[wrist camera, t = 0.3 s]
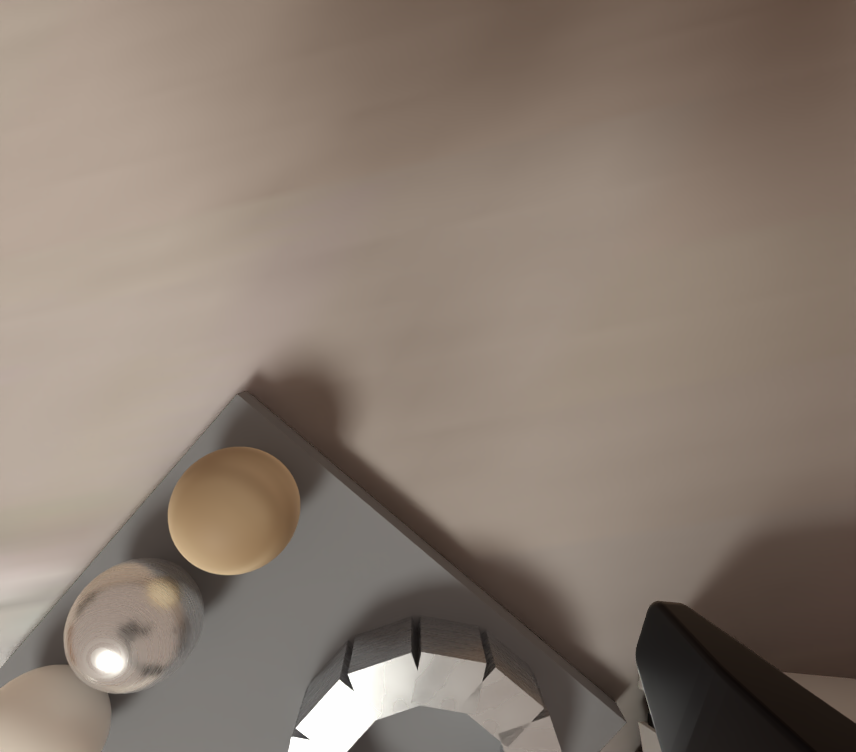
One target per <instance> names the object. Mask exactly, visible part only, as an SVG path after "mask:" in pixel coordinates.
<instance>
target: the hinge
mask: <svg viewBox="0 0 856 752" xmlns="http://www.w3.org/2000/svg"><path fill="white" fill-rule="evenodd" d="M783 673H784V674H786V675H787V676H789V677H790V678H791V679H793V680H794V681H796V682H797V683H799V684H800V685H801V686H803V687H804V688H806V689H807V690H809V691H810V692H812V693H813V694H814V695H816V696H817V697H819V698H820V699H822V700H823V701H825V702H826V703H827V704H829V705H830V706H832V707H833V708H835V709H836V710H837V711H839V712H840V713H842V714H843V715H845V716H846V717H848V718H849V719H850V720H852V721H853V722H855V723H856V679H852V678H841V677H831V676H820V675H809V674H798V673H788V672H783ZM638 688H640V689H642V690H643V691H644V689H643V686H642V682H641V679H640V677H639V682H638ZM638 725H639V731H640V737H641V743H642V749H643V752H661V748H660V745H659V741H658V738H657V734H656V731H655V727H654V724H653V720H652V717H651V713H648V722H639V721H638Z"/></svg>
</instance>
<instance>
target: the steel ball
mask: <svg viewBox="0 0 856 752" xmlns="http://www.w3.org/2000/svg"><path fill="white" fill-rule="evenodd" d="M203 620H204V603H203V598H202V594H201V591H200V589H199V587H198V585H197V583H196V582H195V580H194V579H193V577H192V576H191V575H190V574H189V573H188V572H187V571H186V570H184V569H183V568H182V567H180V566H178V565H177V564H175V563H173V562H170V561H167V560H163V559H157V558H139V559H132V560H128V561H125V562H122V563H120V564H117V565H115V566H112V567H111V568H109V569H107V570H106V571H104V572H102V573H101V574H99V575H98V576H97V577H96V578H94V579H93V580H92V581H91V582H90V583H89V584H88V585H87V586H86V587H85V588H84V589H83V591H82V592H81V593H80V594H79V596H78V597H77V598H76V600H75V602H74V604H73V605H72V607H71V609H70V611H69V614H68V617H67V620H66V624H65V628H64V636H63V639H64V651H65V656H66V659H67V661H68V663H69V665H70V667H71V669H72V670H73V672H74V673H75V675H76V676H77V677H78V678H79V679H80V680H81V681H82V682H84V683H85V684H87V685H88V686H90V687H92V688H94V689H96V690H99V691H102V692H106V693H112V694H127V693H134V692H138V691H141V690H144V689H147V688H150V687H152V686H154V685H156V684H158V683H160V682H161V681H163V680H165V679H166V678H168V677H169V676H170V675H172V674H173V673H174V672H175V671H176V670H177V669H178V668H179V667H180V666H181V665H182V664H183V663H184V662H185V661H186V659H187V658H188V657H189V656H190V654H191V652H192V651H193V649H194V647H195V645H196V644H197V642H198V639H199V637H200V634H201V631H202V627H203Z"/></svg>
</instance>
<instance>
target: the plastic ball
mask: <svg viewBox="0 0 856 752" xmlns="http://www.w3.org/2000/svg"><path fill="white" fill-rule="evenodd" d="M110 725H111V704H110V698H109V695H108V693H106V692H102V691H99V690H96V689H94V688H92V687H90V686H88V685H87V684H85V683H84V682H82V681H81V680H80V679H79V678H78V677H77V676H76V675H75V673H74V672H73V670H72V669H71V667H70V665H49V666H44V667H40V668H36V669H33V670H31V671H28V672H26V673H24V674H22V675H20V676H18V677H16V678H15V679H13V680H11V681H9V682H8V683H7V684H5V685H4V686H3V687H1V688H0V752H101V751H102V749H103V747H104V745H105V742H106V740H107V737H108V734H109V730H110Z"/></svg>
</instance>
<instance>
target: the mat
mask: <svg viewBox="0 0 856 752" xmlns="http://www.w3.org/2000/svg"><path fill="white" fill-rule="evenodd" d="M229 447H251V448H255V449H259V450H262V451H264V452H267V453H269V454H270V455H272V456H274V457H275V458H277V459H278V460H279V461H281V462H282V463H283V464H284V465H285V466H286V468H287V469H288V470H289V471H290V473H291V474H292V476H293V478H294V480H295V482H296V484H297V487H298V490H299V495H300V516H299V521H298V525H297V527H296V530H295V532H294V535H293V537H292V538H291V540H290V542H289V543H288V544H287V546H286V547H285V548H284V550H283V551H282V552H281V553H280V554H279V555H278V556H277V557H276V558H274V559H273V560H272V561H270V562H269V563H268V564H266V565H264V566H262V567H261V568H259V569H256V570H254V571H251V572H247V573H244V574H238V575H220V574H214V573H210V572H207V571H204V570H202V569H200V568H198V567H196V566H194V565H193V564H192V563H190V562H189V561H188V560H187V559H186V558H185V557H183V555H182V554H181V553H180V552H179V550H178V549H177V547H176V546H175V544H174V542H173V540H172V537H171V534H170V531H169V525H168V506H169V502H170V498H171V495H172V492H173V490H174V488H175V486H176V484H177V482H178V481H179V479H180V478H181V476H182V475H183V474H184V472H185V471H186V470H187V469H188V468H189V467H190V466H191V465H192V464H194V463H195V462H196V461H198V460H199V459H200V458H202V457H204V456H205V455H207V454H209V453H212V452H214V451H217V450H220V449H224V448H229ZM139 558H157V559H163V560H167V561H170V562H173V563H175V564H177V565H178V566H180V567H182V568H183V569H184V570H186V571H187V572H188V573H189V574H190V575H191V576H192V577H193V579H194V580H195V582H196V583H197V585H198V587H199V589H200V591H201V594H202V598H203V603H204V620H203V627H202V631H201V634H200V637H199V639H198V642H197V644H196V645H195V647H194V649H193V651H192V652H191V654H190V656H189V657H188V658H187V659H186V661H185V662H184V663H183V664H182V665H181V666H180V667H179V668H178V669H177V670H176V671H175V672H174V673H173V674H172V675H170V676H169V677H168V678H166V679H165V680H163V681H161V682H160V683H158V684H156V685H154V686H152V687H150V688H147V689H144V690H141V691H138V692H134V693H127V694H112V693H108V695H109V698H110V704H111V725H110V730H109V734H108V737H107V740H106V742H105V745H104V747H103V749H102V751H101V752H289V747H290V742H291V737H292V734H293V730H294V727H295V724H296V721H297V717H298V714H299V711H300V707H301V704H302V701H303V697H304V694H305V691H307V689H308V686H309V683H310V682H311V681H312V679H313V678H314V677H315V676H316V675H317V674H318V673H319V672H320V671H321V669H322V668H323V667H324V666H325V665H326V664H327V663H328V662H329V661H330V659H331V658H332V657H333V656H334V655H335V654H336V653H337V652H338V650H339V649H340V648H341V647H342V646H343V645H344V644H345V643H346V642H347V640H348V641H350V642H351V643H352V644H353V645H354V640H355V635H357V634H360V633H363V632H366V631H369V630H372V629H375V628H378V627H381V626H383V625H386V624H389V623H392V622H395V621H398V620H401V619H404V618H407V617H410V616H412V619H413V622H414V625H415V628H416V631H417V630H418V625H419V620H420V615H421V616H427V617H433V618H438V619H444V620H450V621H455V622H461V623H466V624H472V625H478V628H479V632H480V636H481V634H482V633H483V632H484V631H485V630H488V631H489V632H490V633H491V634H492V635H493V636H495V637H496V638H497V639H498V640H499V641H501V642H502V643H503V644H504V645H505V646H507V647H508V648H509V649H510V650H511V651H513V652H514V653H515V654H516V655H517V656H519V657H520V658H521V659H522V660H523V661H524V662H526V663H527V664H528V665H529V666H530V669H531V672H532V673H535V676H536V679H537V682H538V685H539V687H540V690H541V693H542V696H543V699H544V701H545V704H546V707H547V710H548V713H549V715H550V718H551V721H552V724H553V727H554V730H555V733H556V736H557V739H558V742H559V745H560V748H561V751H562V752H600V751H601V749H602V748H603V747H604V746H605V745H606V744H607V743H608V742H609V741H610V740H611V739H612V738H613V737H614V736H615V734H616V733H617V732H618V731H619V730H620V729H621V728H622V727H623V726H624V725H625V724H626V723H627V722H626V721H625V719H624V717H623V715H622V713H621V711H620V710H619V708H618V706H617V704H616V703H615V702H614V701H613V700H612V699H611V698H610V697H608V696H607V695H606V694H605V693H604V692H602V691H601V690H600V689H599V688H598V687H597V686H595V685H594V684H593V683H592V682H591V681H589V680H588V679H587V678H586V677H585V676H584V675H582V674H581V673H580V672H579V671H578V670H576V669H575V668H574V667H573V666H572V665H570V664H569V663H568V662H567V661H566V660H565V659H563V658H562V657H561V656H560V655H559V654H557V653H556V652H555V651H554V650H553V649H552V648H550V647H549V646H548V645H547V644H546V643H544V642H543V641H542V640H541V639H540V638H539V637H537V636H536V635H535V634H534V633H533V632H531V631H530V630H529V629H528V628H527V627H526V626H524V625H523V624H522V623H521V622H520V621H518V620H517V619H516V618H515V617H514V616H513V615H511V614H510V613H509V612H508V611H507V610H505V609H504V608H503V607H502V606H501V605H500V604H498V603H497V602H496V601H495V600H494V599H492V598H491V597H490V596H489V595H488V594H486V593H485V592H484V591H483V590H482V589H481V588H479V587H478V586H477V585H476V584H475V583H473V582H472V581H471V580H470V579H469V578H468V577H466V576H465V575H464V574H463V573H462V572H460V571H459V570H458V569H457V568H456V567H455V566H453V565H452V564H451V563H450V562H449V561H447V560H446V559H445V558H444V557H443V556H442V555H440V554H439V553H438V552H437V551H436V550H434V549H433V548H432V547H431V546H430V545H429V544H427V543H426V542H425V541H424V540H423V539H421V538H420V537H419V536H418V535H417V534H416V533H414V532H413V531H412V530H411V529H410V528H408V527H407V526H406V525H405V524H404V523H402V522H401V521H400V520H399V519H398V518H397V517H395V516H394V515H393V514H392V513H391V512H389V511H388V510H387V509H386V508H385V507H384V506H382V505H381V504H380V503H379V502H378V501H376V500H375V499H374V498H373V497H372V496H371V495H369V494H368V493H367V492H366V491H365V490H363V489H362V488H361V487H360V486H359V485H358V484H356V483H355V482H354V481H353V480H352V479H350V478H349V477H348V476H347V475H346V474H345V473H343V472H342V471H341V470H340V469H339V468H337V467H336V466H335V465H334V464H333V463H332V462H330V461H329V460H328V459H327V458H326V457H324V456H323V455H322V454H321V453H320V452H319V451H317V450H316V449H315V448H314V447H313V446H311V445H310V444H309V443H308V442H307V441H305V440H304V439H303V438H302V437H301V436H300V435H298V434H297V433H296V432H295V431H294V430H292V429H291V428H290V427H289V426H288V425H287V424H285V423H284V422H283V421H282V420H281V419H279V418H278V417H277V416H276V415H275V414H274V413H272V412H271V411H270V410H269V409H268V408H266V407H265V406H264V405H263V404H262V403H261V402H259V401H258V400H257V399H256V398H255V397H253V396H252V395H251V394H250V393H249V392H248V391H245V392H242V393H239V394H237V395H236V396H235V397H234V398H233V400H232V401H231V402H230V403H229V404H228V405H227V407H226V408H225V409H224V410H223V411H222V412H221V413H220V415H219V416H218V417H217V418H216V419H215V420H214V422H213V423H212V424H211V425H210V426H209V427H208V429H207V430H206V431H205V432H204V433H203V434H202V435H201V437H200V438H199V439H198V440H197V441H196V442H195V444H194V445H193V446H192V447H191V448H190V449H189V451H188V452H187V453H186V454H185V455H184V456H183V457H182V459H181V460H180V461H179V462H178V463H177V464H176V466H175V467H174V468H173V469H172V470H171V471H170V473H169V474H168V475H167V476H166V477H165V478H164V480H163V481H162V482H161V483H160V484H159V485H158V486H157V488H156V489H155V490H154V491H153V492H152V493H151V495H150V496H149V497H148V498H147V499H146V500H145V502H144V503H143V504H142V505H141V506H140V507H139V508H138V510H137V511H136V512H135V513H134V514H133V515H132V517H131V518H130V519H129V520H128V521H127V522H126V524H125V525H124V526H123V527H122V528H121V529H120V530H119V532H118V533H117V534H116V535H115V536H114V537H113V539H112V540H111V541H110V542H109V543H108V544H107V546H106V547H105V548H104V549H103V550H102V551H101V552H100V554H99V555H98V556H97V557H96V558H95V559H94V561H93V562H92V563H91V564H90V565H89V566H88V568H87V569H86V570H85V571H84V572H83V573H82V575H81V576H80V577H79V578H78V579H77V580H76V581H75V583H74V584H73V585H72V586H71V587H70V588H69V590H68V591H67V592H66V593H65V594H64V595H63V597H62V598H61V599H60V600H59V601H58V602H57V603H56V605H55V606H54V607H53V608H52V609H51V610H50V612H49V613H48V614H47V615H46V616H45V617H44V619H43V620H42V621H41V622H40V623H39V624H38V625H37V627H36V628H35V629H34V630H33V631H32V632H31V634H30V635H29V636H28V637H27V638H26V639H25V641H24V642H23V643H22V644H21V645H20V646H19V648H18V649H17V650H16V651H15V652H14V653H13V654H12V656H11V657H10V658H9V659H8V660H7V661H6V663H5V664H4V665H3V666H2V667H1V668H0V688H1V687H3V686H4V685H5V684H7V683H8V682H9V681H11V680H13V679H15V678H16V677H18V676H20V675H22V674H24V673H26V672H28V671H31V670H33V669H36V668H40V667H44V666H49V665H69V663H68V661H67V659H66V656H65V651H64V639H63V636H64V628H65V624H66V620H67V617H68V614H69V611H70V609H71V607H72V605H73V604H74V602H75V600H76V598H77V597H78V596H79V594H80V593H81V592H82V591H83V589H84V588H85V587H86V586H87V585H88V584H89V583H90V582H91V581H92V580H93V579H94V578H96V577H97V576H98V575H99V574H101V573H102V572H104V571H106V570H107V569H109V568H111V567H112V566H115V565H117V564H120V563H122V562H125V561H128V560H132V559H139ZM500 747H501V742H500V741H499V740H498V739H497V738H496V737H494V736H493V735H492V734H491V733H489V732H488V731H487V730H486V729H485V728H483V727H482V726H481V725H480V724H479V723H477V722H476V721H475V720H474V719H472V718H471V717H470V716H469V715H468V714H466V713H461V712H456V711H450V710H444V709H438V708H432V707H426V706H417V707H414V708H411V709H408V710H405V711H402V712H399V713H396V714H393V715H390V716H387V717H384V718H381V719H378V720H376V721H374V722H373V724H372V725H371V726H370V727H369V728H368V729H367V730H366V731H365V732H364V733H363V735H362V736H361V737H360V738H359V739H358V740H357V741H356V742H355V743H354V745H353V746H352V747H351V748H350V749H349V750H348V751H347V752H500Z"/></svg>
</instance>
